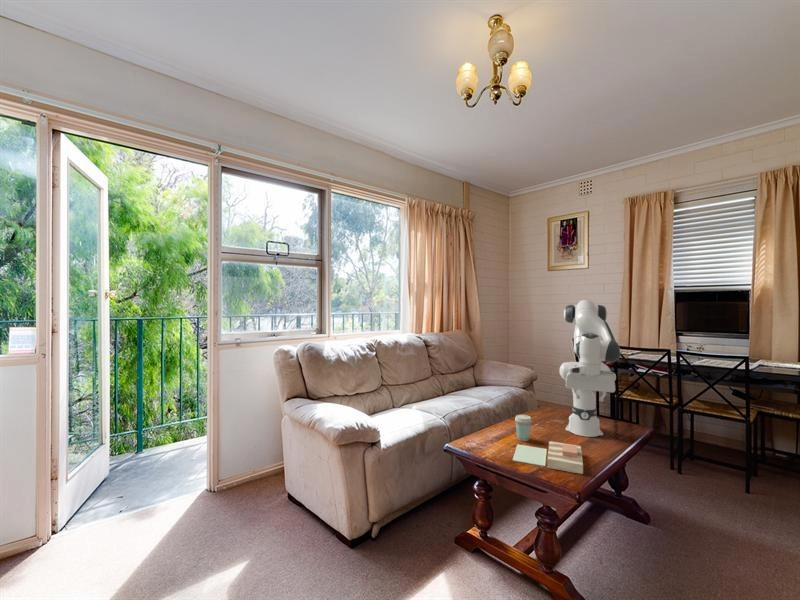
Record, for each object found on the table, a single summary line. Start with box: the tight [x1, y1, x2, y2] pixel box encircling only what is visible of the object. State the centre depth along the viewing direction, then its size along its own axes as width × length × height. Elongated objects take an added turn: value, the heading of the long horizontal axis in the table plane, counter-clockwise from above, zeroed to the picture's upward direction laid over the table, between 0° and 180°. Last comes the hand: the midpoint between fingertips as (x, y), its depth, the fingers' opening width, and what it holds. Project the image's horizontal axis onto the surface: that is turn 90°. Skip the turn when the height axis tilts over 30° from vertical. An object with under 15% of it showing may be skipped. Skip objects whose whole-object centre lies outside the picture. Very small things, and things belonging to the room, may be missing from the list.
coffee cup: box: [514, 414, 533, 442], centre depth 195 cm, size 8×9×12 cm
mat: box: [511, 443, 548, 467], centre depth 176 cm, size 20×14×1 cm
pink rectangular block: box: [563, 443, 577, 458], centre depth 169 cm, size 9×6×2 cm, turn 156°
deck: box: [547, 441, 584, 475], centre depth 170 cm, size 22×14×4 cm, turn 156°
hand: (589, 400), depth 168 cm, fingers open, 8 cm apart
